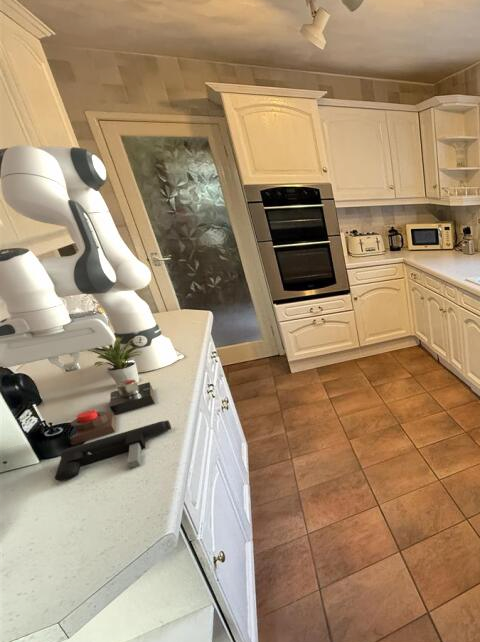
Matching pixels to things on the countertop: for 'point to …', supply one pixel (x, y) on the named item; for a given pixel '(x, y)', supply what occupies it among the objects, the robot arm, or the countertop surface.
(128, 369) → the house plant
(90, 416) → the power button
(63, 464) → the black gun
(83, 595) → the countertop surface
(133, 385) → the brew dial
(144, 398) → the dial panel
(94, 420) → the power base
